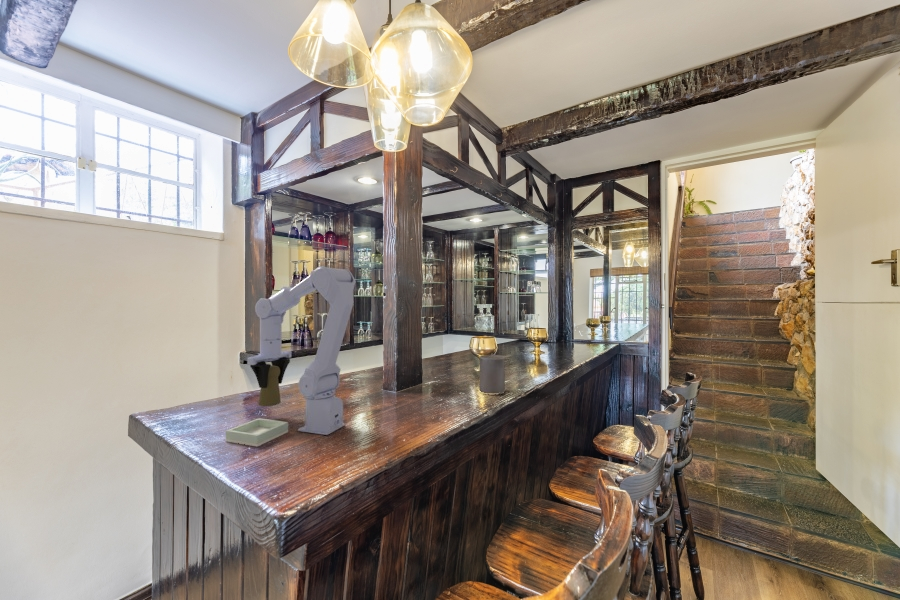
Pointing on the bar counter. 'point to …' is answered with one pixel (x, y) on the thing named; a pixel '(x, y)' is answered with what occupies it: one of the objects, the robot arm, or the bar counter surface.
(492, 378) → the pillar candle
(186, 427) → the bar counter surface
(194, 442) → the bar counter surface
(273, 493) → the bar counter surface
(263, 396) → the olive pepper mill
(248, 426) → the tray
